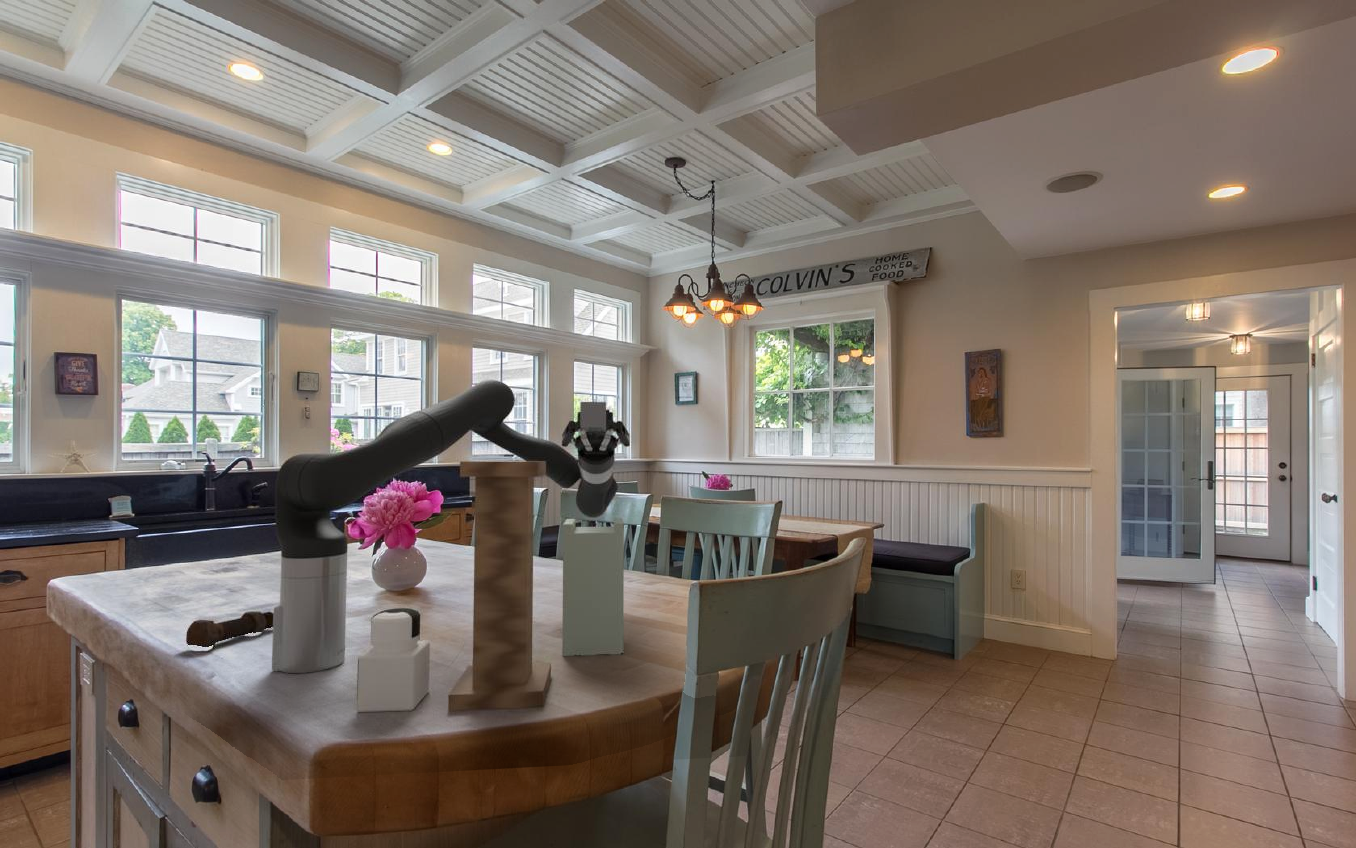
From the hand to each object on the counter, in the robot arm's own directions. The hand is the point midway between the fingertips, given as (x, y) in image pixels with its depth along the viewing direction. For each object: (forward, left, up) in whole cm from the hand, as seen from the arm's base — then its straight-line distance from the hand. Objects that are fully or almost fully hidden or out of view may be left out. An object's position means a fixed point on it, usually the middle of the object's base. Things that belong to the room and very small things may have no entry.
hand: (595, 413), depth 121 cm
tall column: (-12, -28, -41) cm, 51 cm away
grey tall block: (0, -7, -41) cm, 41 cm away
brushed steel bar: (0, -7, -3) cm, 7 cm away
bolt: (-64, +5, -41) cm, 76 cm away
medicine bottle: (-26, -29, -41) cm, 57 cm away
